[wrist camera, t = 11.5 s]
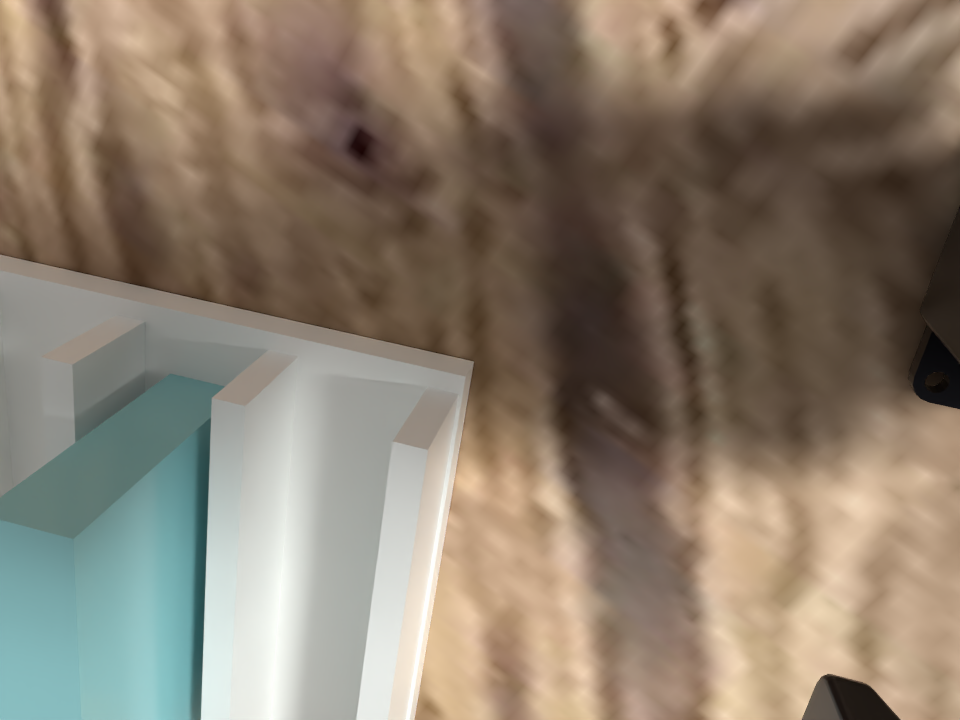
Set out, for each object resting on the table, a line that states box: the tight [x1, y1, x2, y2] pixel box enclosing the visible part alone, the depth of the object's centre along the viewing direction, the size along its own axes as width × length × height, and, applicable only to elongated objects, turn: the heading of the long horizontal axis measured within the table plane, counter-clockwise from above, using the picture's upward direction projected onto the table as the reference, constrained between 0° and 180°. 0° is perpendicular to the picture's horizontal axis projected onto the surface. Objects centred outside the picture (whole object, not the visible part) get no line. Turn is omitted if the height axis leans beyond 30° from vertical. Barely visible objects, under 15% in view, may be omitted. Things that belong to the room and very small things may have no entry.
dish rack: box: [0, 255, 474, 720], centre depth 24 cm, size 14×14×4 cm
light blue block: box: [0, 374, 225, 720], centre depth 21 cm, size 2×10×7 cm, turn 171°
